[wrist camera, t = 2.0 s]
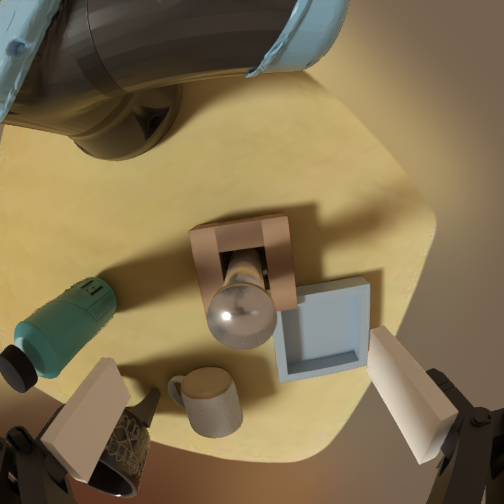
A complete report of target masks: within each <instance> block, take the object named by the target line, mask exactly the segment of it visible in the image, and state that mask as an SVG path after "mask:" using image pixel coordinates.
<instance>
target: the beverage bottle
mask: <svg viewBox="0 0 504 504" xmlns="http://www.w3.org/2000/svg"><path fill="white" fill-rule="evenodd" d="M82 280H83V279H82ZM76 284H77V285H76ZM76 284H74V285H75V286H74V285H73V286H74V287H72V286H71V287H72V288H70V289H67V290H65V291H66V292H63V293H62V294H61V295H59V296H58V297H57V298H55V299H54V300H52V301H51V302H49V301H48V302H49V303H46V305H45V304H44V306H43V307H42V308H40V309H39V310H38V309H37V310H38V311H37V310H36V311H35V313H34V312H33V313H34V314H32V315H31V316H29V317H28V318H27V319H25V320H24V321H21V322H20V323H19V324H17V326H16V328H15V333H14V342H15V345H9V346H7V347H6V348H5V349H4V351H3V352H2V353H1V354H0V372H1V374H2V376H3V377H4V379H5V380H6V381H7V383H8V384H9V385H10V386H11V387H12V388H13V389H15V390H16V391H18V392H20V393H25V392H26V391H27V390H28V389H30V388H31V387H33V386H34V385H35V384H36V383H37V381H38V376H40V377H43V378H48V379H52V378H56V377H57V376H58V375H59V374H60V372H61V371H62V369H63V368H64V367H65V366H66V365H67V364H68V363H69V362H70V361H71V360H72V358H73V357H74V356H75V355H76V354H77V353H78V352H79V351H80V350H81V349H82V348H83V347H84V345H85V344H86V343H88V342H89V341H90V340H91V339H92V338H93V337H95V336H96V335H97V334H98V333H99V332H100V331H99V330H101V328H102V327H103V326H104V327H105V324H106V323H107V322H108V321H109V320H110V319H111V318H112V317H113V315H114V314H115V311H116V307H117V301H116V297H115V294H114V292H113V290H112V288H111V287H110V286H109V285H108V284H107V283H106V282H105V281H104V280H102V279H100V278H96V277H91V278H87V279H84V280H83V281H81V282H78V283H76ZM112 319H113V318H112ZM108 323H109V322H108ZM102 329H103V328H102ZM98 331H99V332H98ZM97 332H98V333H97ZM96 333H97V334H96ZM95 334H96V335H95ZM94 335H95V336H94ZM85 346H86V345H85ZM37 375H38V376H37Z"/></svg>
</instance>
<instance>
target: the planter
mask: <svg viewBox="0 0 504 504" xmlns="http://www.w3.org/2000/svg"><path fill="white" fill-rule="evenodd" d="M159 397H160V392H159V390H158V388H151V390H150V392H149V393H148V395H147V396H146V397H145V398H144V399H143V400H142V401H141V402H140V403H139V404H137V405H136V406H134V407H133V408H130V409H129V408H126V407H125V408H124V410H123V412H122V414H121V416H120V418H119V420H118V422H117V424H116V426H115V428H114V430H113V432H112V434H111V436H110V438H109V440H108V442H107V444H106V446H105V448H104V450H103V452H102V454H101V456H100V458H99V460H98V462H97V464H96V466H95V468H94V471H93V473H92V475H91V477H90V479H89V481H88V483H85V482H82V481H80V482H82V483H84V484H86V485H88V486H89V487H91V488H93V489H96V490H98V491H100V492H103V493H106V494H109V495H113V496H117V497H124V498H126V497H128V498H129V497H133V496H135V495H136V494H137V493H138V489H139V485H140V481H141V477H142V473H143V469H144V465H145V461H146V458H147V454H148V450H149V447H150V435H149V432H148V430H147V428H150V425H151V422H152V419H153V416H154V413H155V409H156V406H157V403H158V400H159ZM67 473H68V472H67Z"/></svg>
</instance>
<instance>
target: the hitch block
mask: <svg viewBox="0 0 504 504" xmlns="http://www.w3.org/2000/svg"><path fill="white" fill-rule="evenodd" d="M189 236H190V242H191V247H192V252H193V258H194V263H195V268H196V273H197V278H198V282H199V287H200V292H201V297H202V301H203V306H204V310H205V314H206V319H207V312H208V308H209V305H210V302H211V300H212V298H213V296H214V295H215V294H216V293H217V291H219V290H220V289H221V288H223V285H224V281H225V278H226V274H227V269H226V264H225V258H224V252H226V251H233V250H240V249H247V248H254V247H261V246H264V251H265V258H266V266H267V273H268V278H264V279H263V280H264V287H265V290H266V291H267V292H268V293H269V294H270V296H271V297H272V299H273V301H274V303H275V307H276V312H278V311H285V310H291V309H298V307H297V296H296V286H295V276H294V267H293V258H292V249H291V240H290V232H289V224H288V216H287V215H285V214H284V213H278V214H271V215H264V216H257V217H250V218H243V219H236V220H230V221H223V222H217V223H210V224H204V225H198V226H195V227H193V228H192V229H191V230H189Z"/></svg>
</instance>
